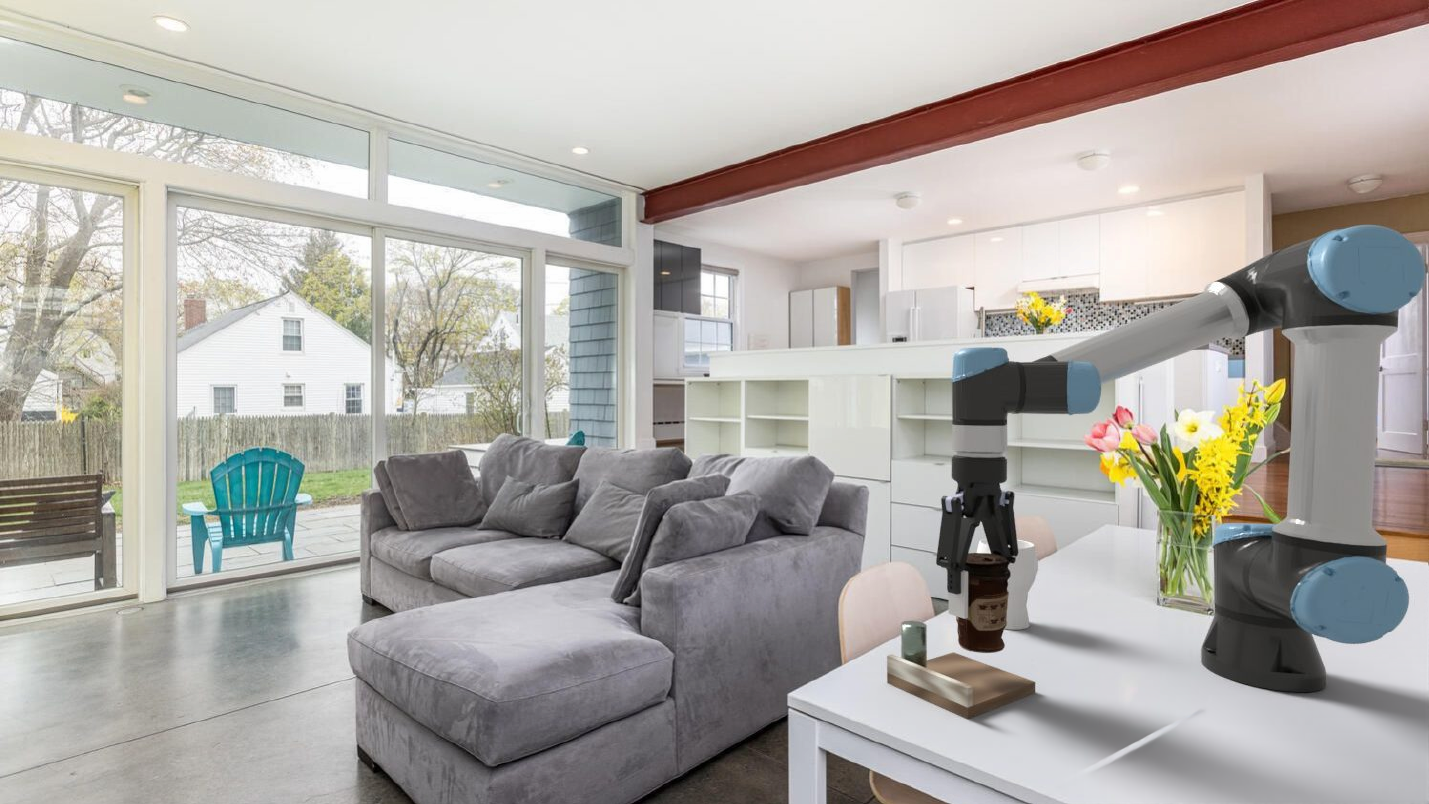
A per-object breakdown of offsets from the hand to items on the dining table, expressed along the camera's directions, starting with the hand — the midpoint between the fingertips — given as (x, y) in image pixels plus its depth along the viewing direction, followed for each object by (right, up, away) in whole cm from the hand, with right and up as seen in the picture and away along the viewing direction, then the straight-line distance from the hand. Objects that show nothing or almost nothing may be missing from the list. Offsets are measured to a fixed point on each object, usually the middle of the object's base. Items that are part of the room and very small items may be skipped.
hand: (978, 610), depth 101 cm
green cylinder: (-9, -10, +2) cm, 13 cm away
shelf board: (-3, -11, 0) cm, 11 cm away
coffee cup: (+1, -5, 0) cm, 5 cm away
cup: (+16, -11, +29) cm, 35 cm away
